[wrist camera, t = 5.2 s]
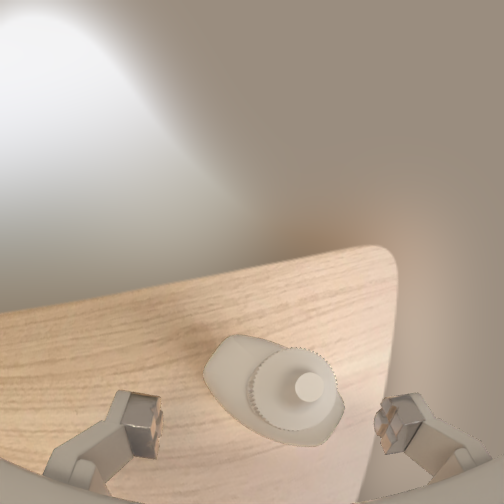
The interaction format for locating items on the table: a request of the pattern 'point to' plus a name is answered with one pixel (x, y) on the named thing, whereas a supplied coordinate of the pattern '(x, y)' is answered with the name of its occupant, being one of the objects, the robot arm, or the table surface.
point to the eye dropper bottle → (275, 390)
